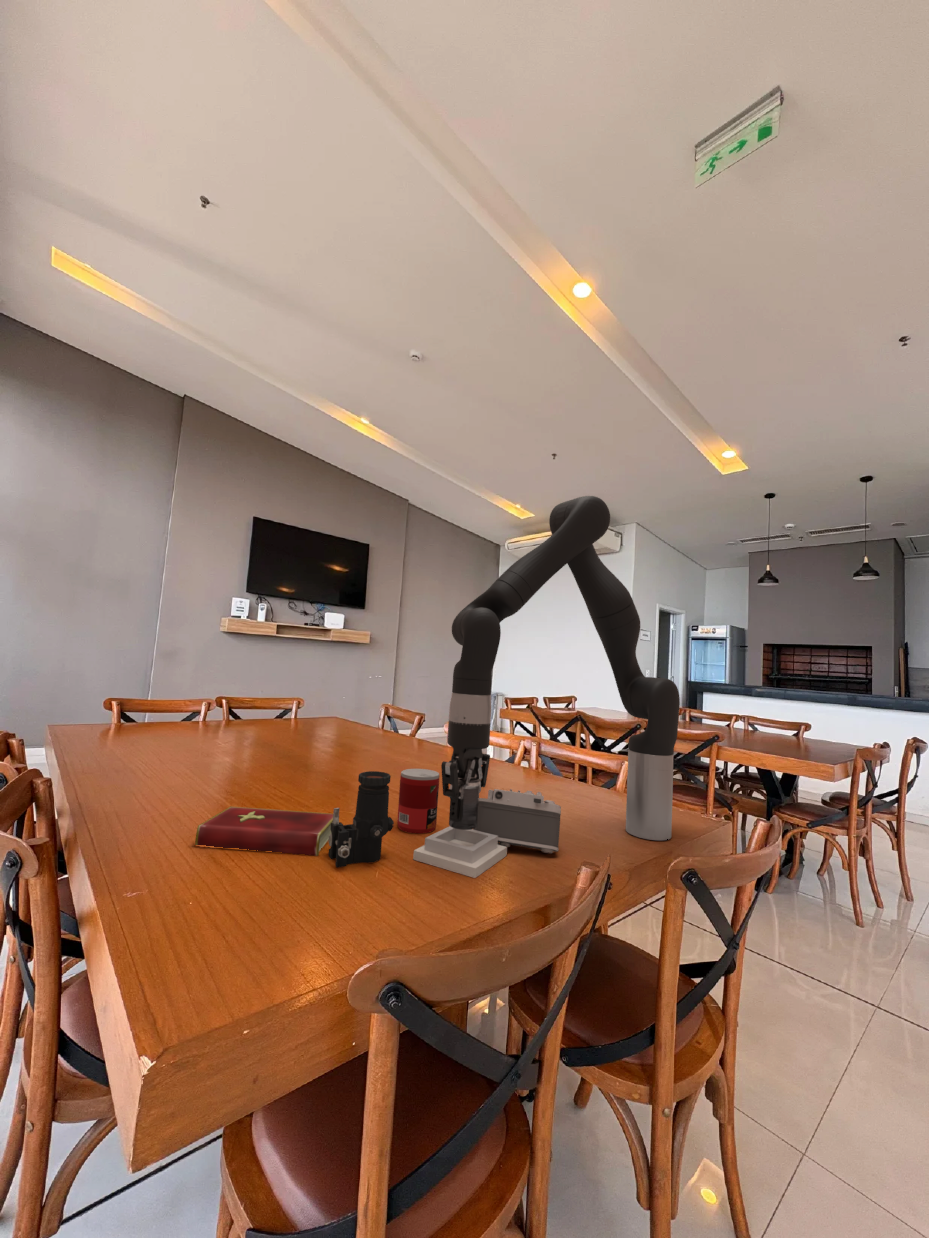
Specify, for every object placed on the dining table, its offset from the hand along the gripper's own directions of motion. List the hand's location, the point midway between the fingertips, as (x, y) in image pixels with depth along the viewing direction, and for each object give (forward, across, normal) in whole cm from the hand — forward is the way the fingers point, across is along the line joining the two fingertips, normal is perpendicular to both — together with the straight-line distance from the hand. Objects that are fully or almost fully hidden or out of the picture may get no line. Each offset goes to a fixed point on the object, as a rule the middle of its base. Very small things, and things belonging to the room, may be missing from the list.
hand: (463, 816), depth 89 cm
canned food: (+7, +8, +15) cm, 18 cm away
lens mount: (+7, 0, 0) cm, 7 cm away
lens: (+1, 0, 0) cm, 1 cm away
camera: (+7, +12, -5) cm, 15 cm away
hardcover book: (+8, -14, +32) cm, 36 cm away
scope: (+7, -11, +13) cm, 19 cm away
